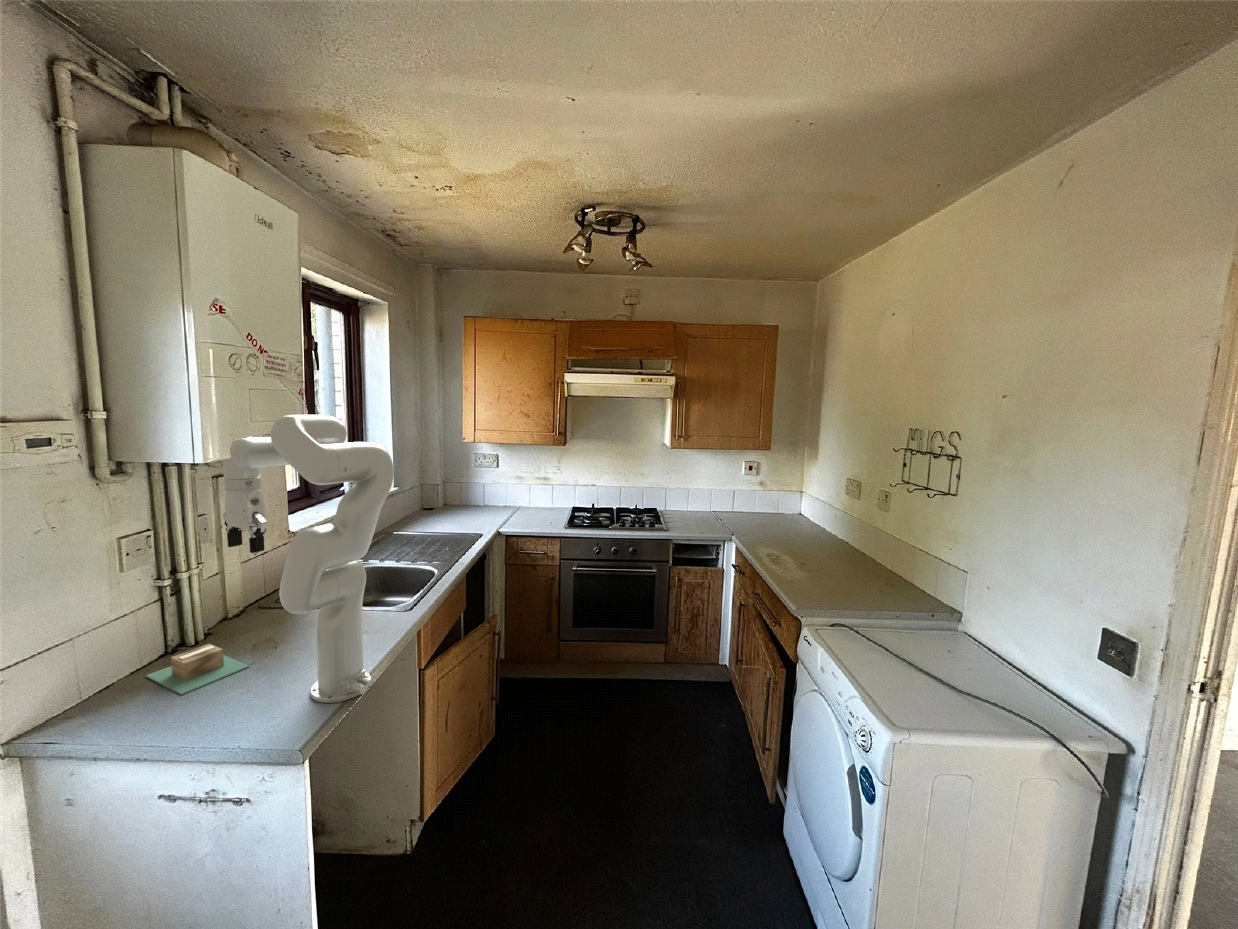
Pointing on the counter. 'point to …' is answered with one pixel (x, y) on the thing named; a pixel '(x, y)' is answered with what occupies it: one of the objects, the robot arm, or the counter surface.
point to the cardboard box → (197, 662)
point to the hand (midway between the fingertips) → (246, 548)
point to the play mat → (185, 687)
